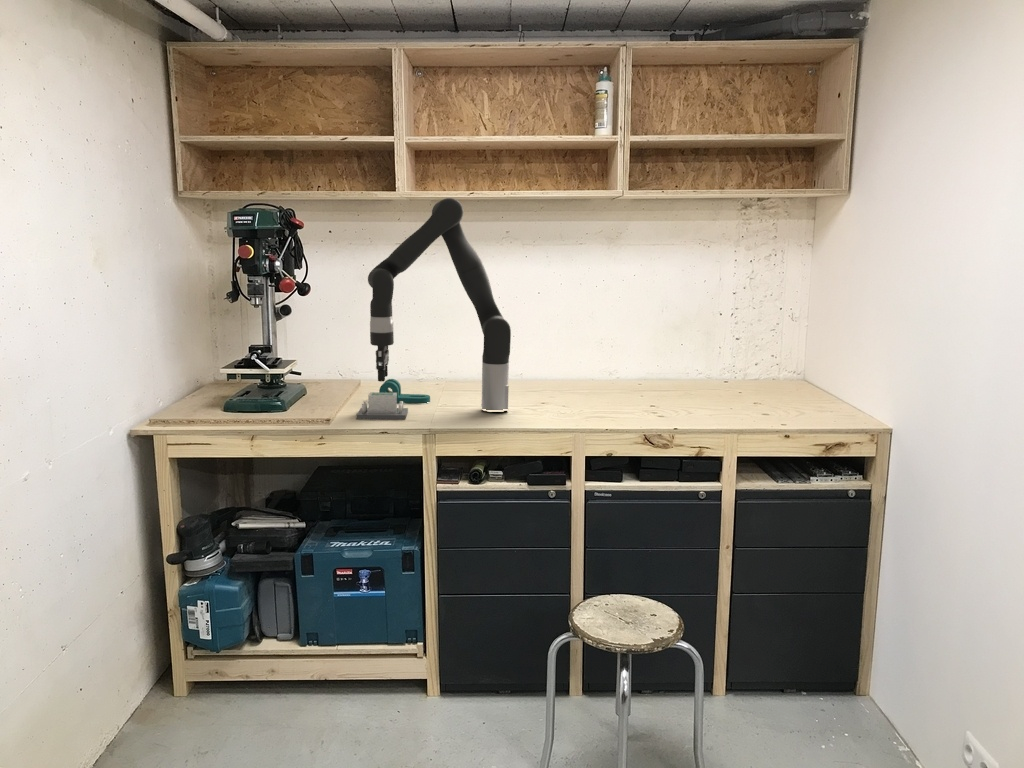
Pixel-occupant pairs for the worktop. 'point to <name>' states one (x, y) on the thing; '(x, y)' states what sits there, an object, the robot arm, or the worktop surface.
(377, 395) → the block
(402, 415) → the grey wall plate
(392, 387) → the bracket
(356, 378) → the worktop surface
